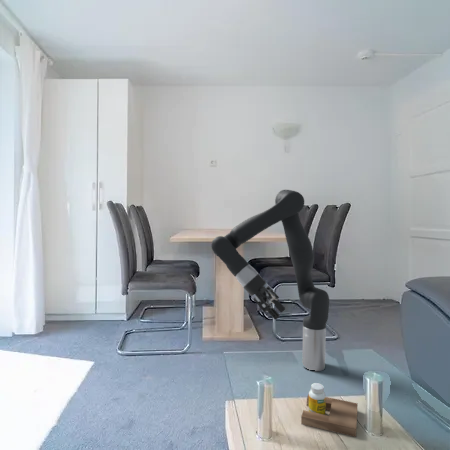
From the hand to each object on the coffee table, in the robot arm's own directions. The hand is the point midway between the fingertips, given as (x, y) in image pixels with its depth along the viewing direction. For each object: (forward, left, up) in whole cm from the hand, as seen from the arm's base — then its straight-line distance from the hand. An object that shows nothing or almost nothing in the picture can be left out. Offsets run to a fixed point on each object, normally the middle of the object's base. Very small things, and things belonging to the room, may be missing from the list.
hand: (280, 314), depth 128 cm
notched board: (+9, +19, -29) cm, 35 cm away
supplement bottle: (+9, +14, -29) cm, 34 cm away
